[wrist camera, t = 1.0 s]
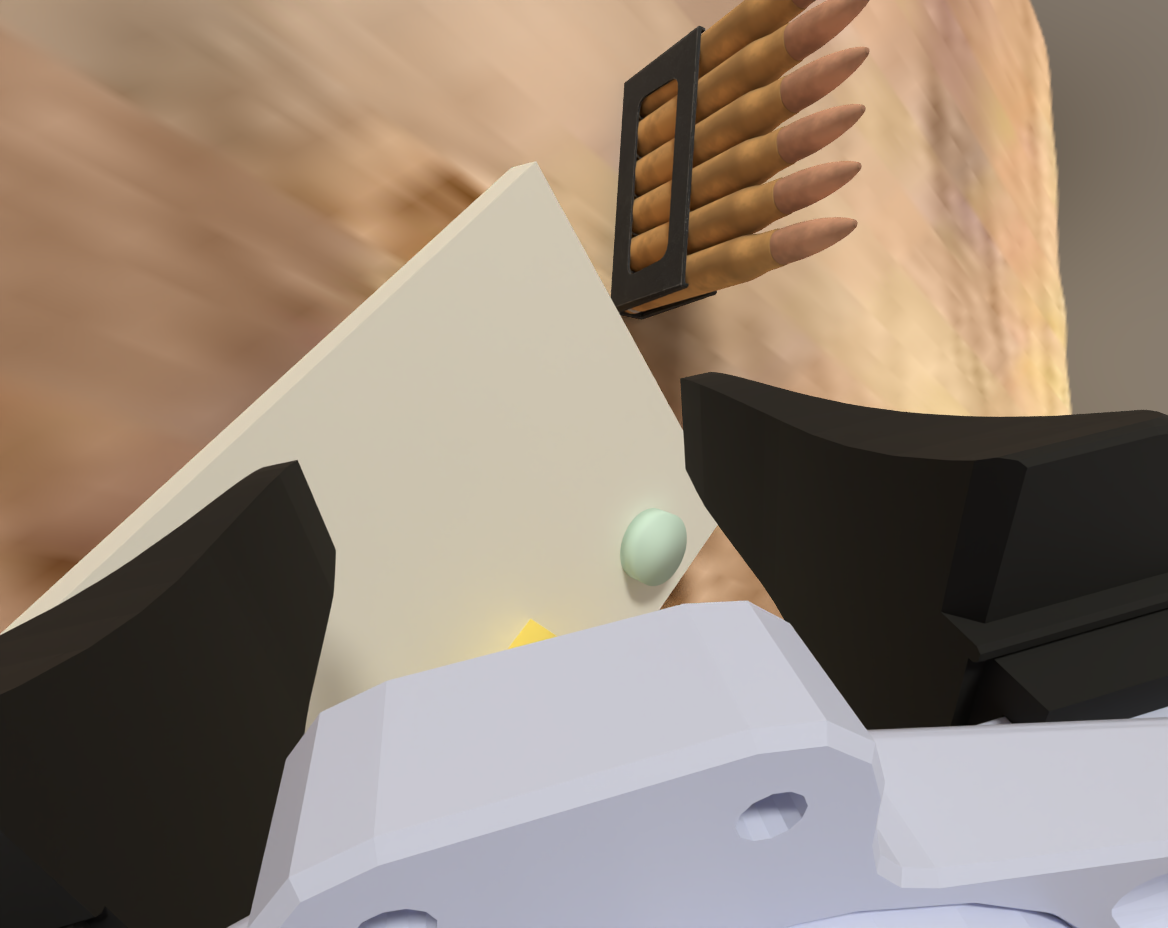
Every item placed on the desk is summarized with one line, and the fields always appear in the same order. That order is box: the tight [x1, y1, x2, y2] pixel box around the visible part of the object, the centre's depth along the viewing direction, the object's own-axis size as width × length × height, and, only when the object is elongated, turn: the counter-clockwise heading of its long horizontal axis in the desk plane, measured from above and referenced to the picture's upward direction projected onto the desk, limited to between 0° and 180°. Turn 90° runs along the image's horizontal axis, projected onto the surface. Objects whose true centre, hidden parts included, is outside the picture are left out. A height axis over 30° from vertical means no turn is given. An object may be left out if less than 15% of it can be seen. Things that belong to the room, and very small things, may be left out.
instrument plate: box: [0, 161, 718, 733], centre depth 18 cm, size 18×16×5 cm
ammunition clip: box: [611, 0, 869, 319], centre depth 24 cm, size 11×2×12 cm, turn 176°
